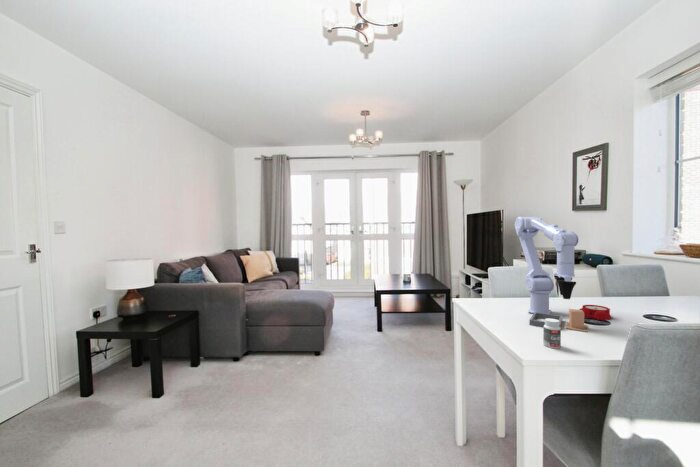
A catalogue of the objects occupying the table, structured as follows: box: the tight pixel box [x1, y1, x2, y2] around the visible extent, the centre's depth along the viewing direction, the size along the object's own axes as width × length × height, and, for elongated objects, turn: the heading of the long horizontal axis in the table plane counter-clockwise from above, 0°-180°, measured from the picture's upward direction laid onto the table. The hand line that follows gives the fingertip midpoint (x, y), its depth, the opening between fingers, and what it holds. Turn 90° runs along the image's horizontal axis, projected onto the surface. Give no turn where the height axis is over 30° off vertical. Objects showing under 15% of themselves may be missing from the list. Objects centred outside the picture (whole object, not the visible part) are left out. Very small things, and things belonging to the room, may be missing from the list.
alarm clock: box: [578, 304, 612, 322], centre depth 135 cm, size 10×6×15 cm
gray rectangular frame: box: [529, 312, 563, 329], centre depth 128 cm, size 14×10×2 cm
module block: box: [568, 308, 585, 329], centre depth 122 cm, size 4×4×6 cm
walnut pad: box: [565, 321, 589, 333], centre depth 122 cm, size 9×6×1 cm
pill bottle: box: [542, 318, 562, 349], centre depth 104 cm, size 5×5×8 cm
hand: (565, 296), depth 127 cm, fingers open, 7 cm apart
